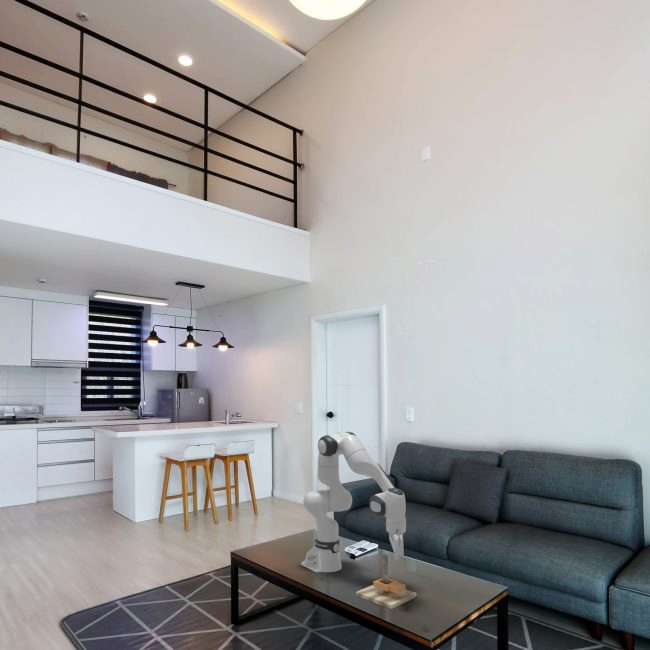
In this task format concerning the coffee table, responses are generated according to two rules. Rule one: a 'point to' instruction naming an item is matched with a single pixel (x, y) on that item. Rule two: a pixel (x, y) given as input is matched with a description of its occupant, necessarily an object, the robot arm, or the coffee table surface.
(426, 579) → the coffee table surface
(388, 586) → the collar
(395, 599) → the pipe stand
